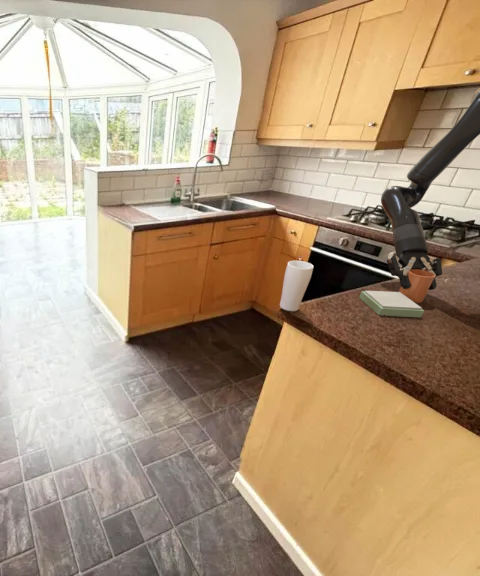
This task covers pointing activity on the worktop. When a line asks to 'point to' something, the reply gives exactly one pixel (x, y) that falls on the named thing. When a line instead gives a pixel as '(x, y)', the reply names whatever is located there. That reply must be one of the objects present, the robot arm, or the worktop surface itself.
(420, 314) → the scale
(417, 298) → the cup
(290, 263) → the drinking glass
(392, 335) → the worktop surface
